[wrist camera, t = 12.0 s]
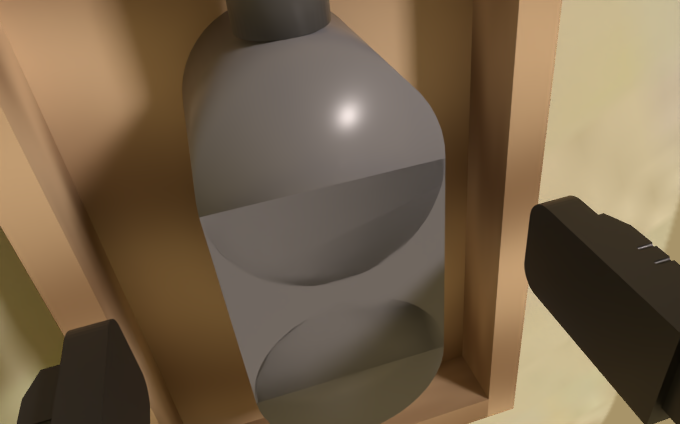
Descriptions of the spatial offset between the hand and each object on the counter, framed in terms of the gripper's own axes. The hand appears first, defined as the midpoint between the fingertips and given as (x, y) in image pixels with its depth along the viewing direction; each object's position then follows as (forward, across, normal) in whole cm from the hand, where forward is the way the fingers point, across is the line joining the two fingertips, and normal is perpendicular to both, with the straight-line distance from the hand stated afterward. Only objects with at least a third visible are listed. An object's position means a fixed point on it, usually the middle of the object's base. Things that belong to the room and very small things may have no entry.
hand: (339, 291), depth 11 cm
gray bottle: (+5, 0, 0) cm, 5 cm away
